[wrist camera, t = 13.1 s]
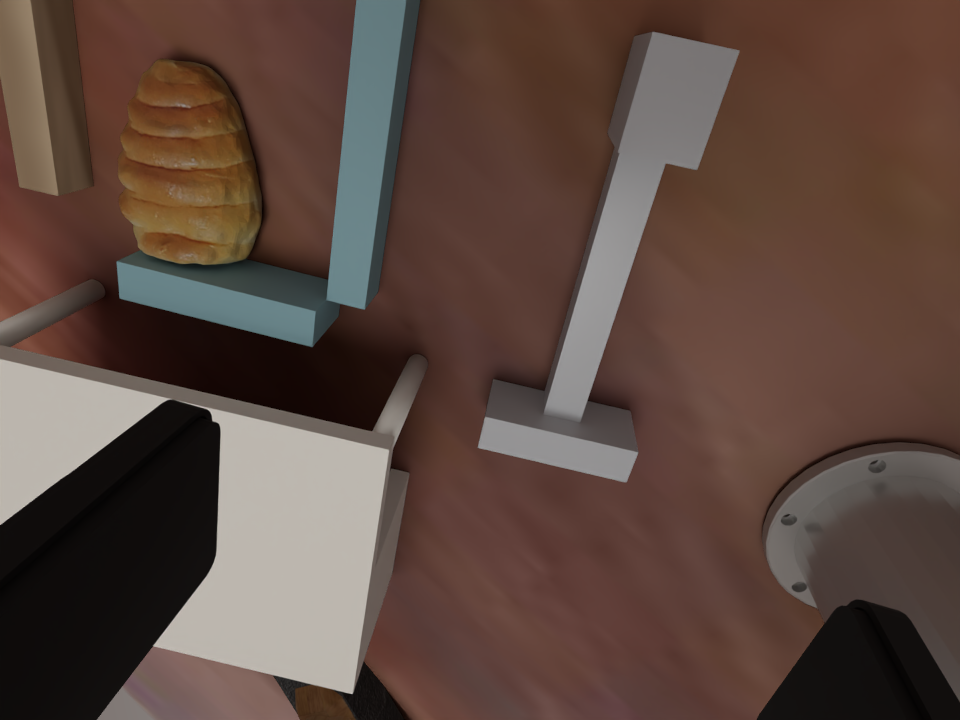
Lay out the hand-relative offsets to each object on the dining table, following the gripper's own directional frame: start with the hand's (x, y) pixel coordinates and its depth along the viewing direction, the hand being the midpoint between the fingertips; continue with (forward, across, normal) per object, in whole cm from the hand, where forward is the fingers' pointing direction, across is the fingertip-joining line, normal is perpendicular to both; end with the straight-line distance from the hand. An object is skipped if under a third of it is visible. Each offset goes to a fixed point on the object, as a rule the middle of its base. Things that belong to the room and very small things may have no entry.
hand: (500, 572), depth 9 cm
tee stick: (+23, -3, +1) cm, 23 cm away
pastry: (+23, +19, +2) cm, 29 cm away
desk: (+23, +15, +17) cm, 32 cm away
